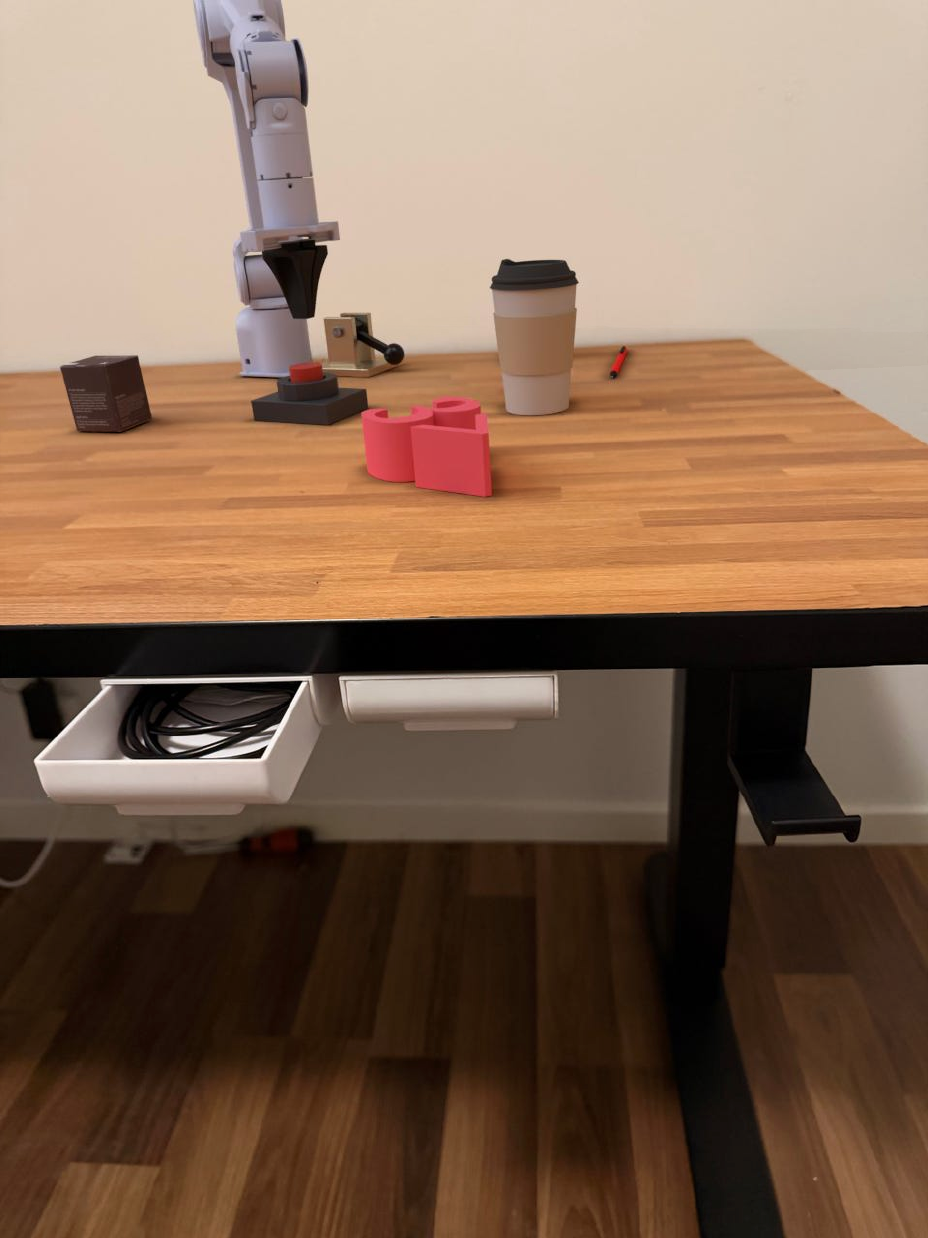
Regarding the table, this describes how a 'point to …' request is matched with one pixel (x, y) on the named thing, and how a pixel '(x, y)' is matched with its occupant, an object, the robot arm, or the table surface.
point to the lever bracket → (351, 347)
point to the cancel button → (306, 372)
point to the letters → (431, 446)
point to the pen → (618, 362)
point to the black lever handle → (380, 345)
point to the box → (106, 393)
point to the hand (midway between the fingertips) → (303, 317)
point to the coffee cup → (535, 333)
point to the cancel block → (310, 402)
